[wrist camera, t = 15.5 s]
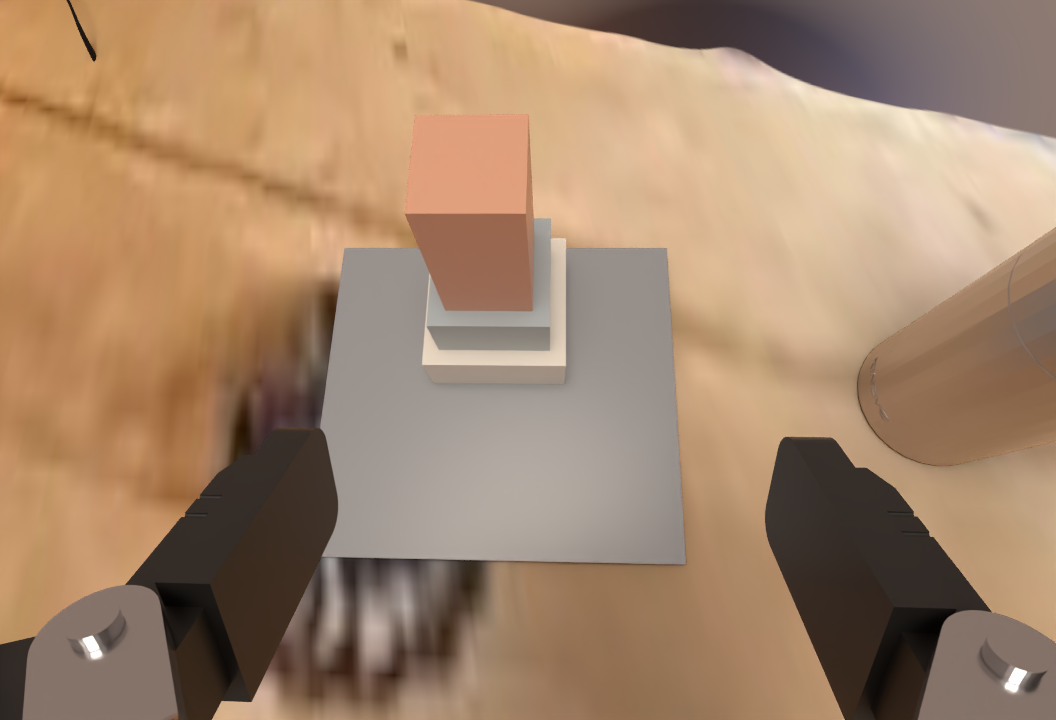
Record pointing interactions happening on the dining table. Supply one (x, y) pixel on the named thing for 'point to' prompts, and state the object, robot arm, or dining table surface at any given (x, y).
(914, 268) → the dining table surface
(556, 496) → the baseplate
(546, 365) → the tower base
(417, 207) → the terracotta brick
